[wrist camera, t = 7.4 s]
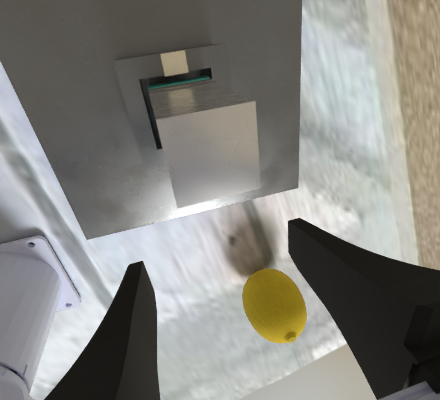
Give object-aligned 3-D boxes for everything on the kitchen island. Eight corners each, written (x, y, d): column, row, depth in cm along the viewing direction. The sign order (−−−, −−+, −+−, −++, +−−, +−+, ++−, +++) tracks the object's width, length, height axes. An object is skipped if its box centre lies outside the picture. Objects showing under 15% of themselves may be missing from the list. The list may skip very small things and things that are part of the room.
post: (161, 141, 16) (176, 210, 9) (147, 84, 15) (153, 118, 8) (212, 131, 17) (262, 189, 10) (204, 75, 15) (257, 98, 8)
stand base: (88, 232, 22) (76, 277, 18) (-51, -64, 13) (-143, -118, 9) (292, 183, 25) (324, 211, 21) (295, -93, 16) (353, -145, 12)
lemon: (225, 290, 30) (250, 362, 23) (245, 249, 28) (279, 315, 21) (268, 294, 32) (303, 361, 25) (290, 256, 30) (334, 318, 23)
